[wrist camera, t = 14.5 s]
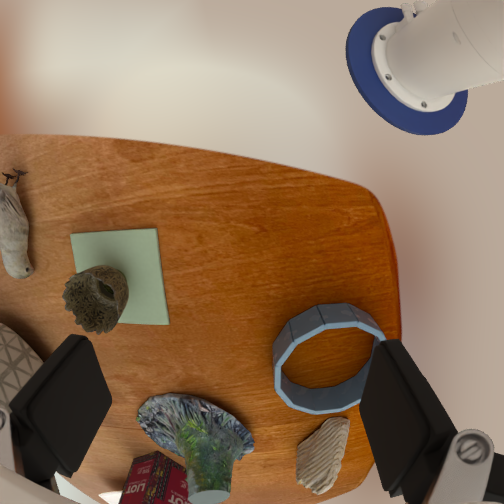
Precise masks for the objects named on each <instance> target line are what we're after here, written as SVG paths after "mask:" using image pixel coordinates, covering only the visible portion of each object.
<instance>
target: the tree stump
mask: <svg viewBox="0 0 504 504" xmlns="http://www.w3.org/2000/svg"><path fill="white" fill-rule="evenodd" d="M136 421H137V422H138V423H140V426H141V427H142V429H143V430H144V431H145V433H146V434H147V435H148V436H149V437H150V438H151V439H152V440H153V441H154V442H156V444H158V445H159V446H160V447H162V448H164V449H167V450H169V451H171V452H173V453H175V454H177V455H178V456H181V457H183V458H185V463H186V470H187V478H186V479H185V480H186V481H187V483H188V490H189V494H188V500H189V502H190V503H192V504H217V503H221V502H223V501H225V500H226V499H227V498H229V496H230V491H231V478H232V468H233V463H234V461H235V460H236V459H237V460H241V459H242V456H244V455H245V454H248V453H251V452H252V451H253V450H254V446H253V443H255V442H254V439H253V438H252V435H251V433H250V432H249V431H248V430H247V429H246V428H245V427H244V426H243V425H242V424H241V423H240V422H239V421H238V420H237V419H236V418H235V417H234V416H232V415H231V414H229V413H227V412H226V411H224V410H223V409H221V408H219V407H217V406H215V405H213V404H212V403H210V402H208V401H206V400H204V399H202V398H199V397H196V396H193V395H183V394H175V393H168V394H165V395H162V396H153V397H150V398H149V399H148V400H147V401H146V402H145V403H144V404H143V405H142V406H141V407H140V408H139V410H138V417H137V418H136Z"/></svg>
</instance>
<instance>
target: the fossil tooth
mask: <svg viewBox="0 0 504 504" xmlns="http://www.w3.org/2000/svg"><path fill="white" fill-rule="evenodd" d="M349 423H350V420H348V419H345V418H343V417H335V418H329V419H327V420H326V421H325V422H324V423H323V424H322V426H321V428H320V429H318V430H316V431H315V433H313V434H312V435H311V436H310V437H309V438H307V439H306V440H304V441H303V442H302V443H301V444H299V445H298V447H297V448H298V450H297V453H298V454H297V459H296V461H297V463H296V482H297V484H303V486H304V487H305V488H309V487H310V489H312V492H313V493H316V494H317V495H319V494H321V493H324V492H326V491H327V490H328V489H330V488H331V487H332V486H333V483H334V481H335V480H336V479H337V477H338V476H337V473H338V472H339V470H340V468H341V459H342V458H343V456H344V451H345V446H346V443H347V441H346V439H347V437H348V432H349V427H350V424H349Z"/></svg>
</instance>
